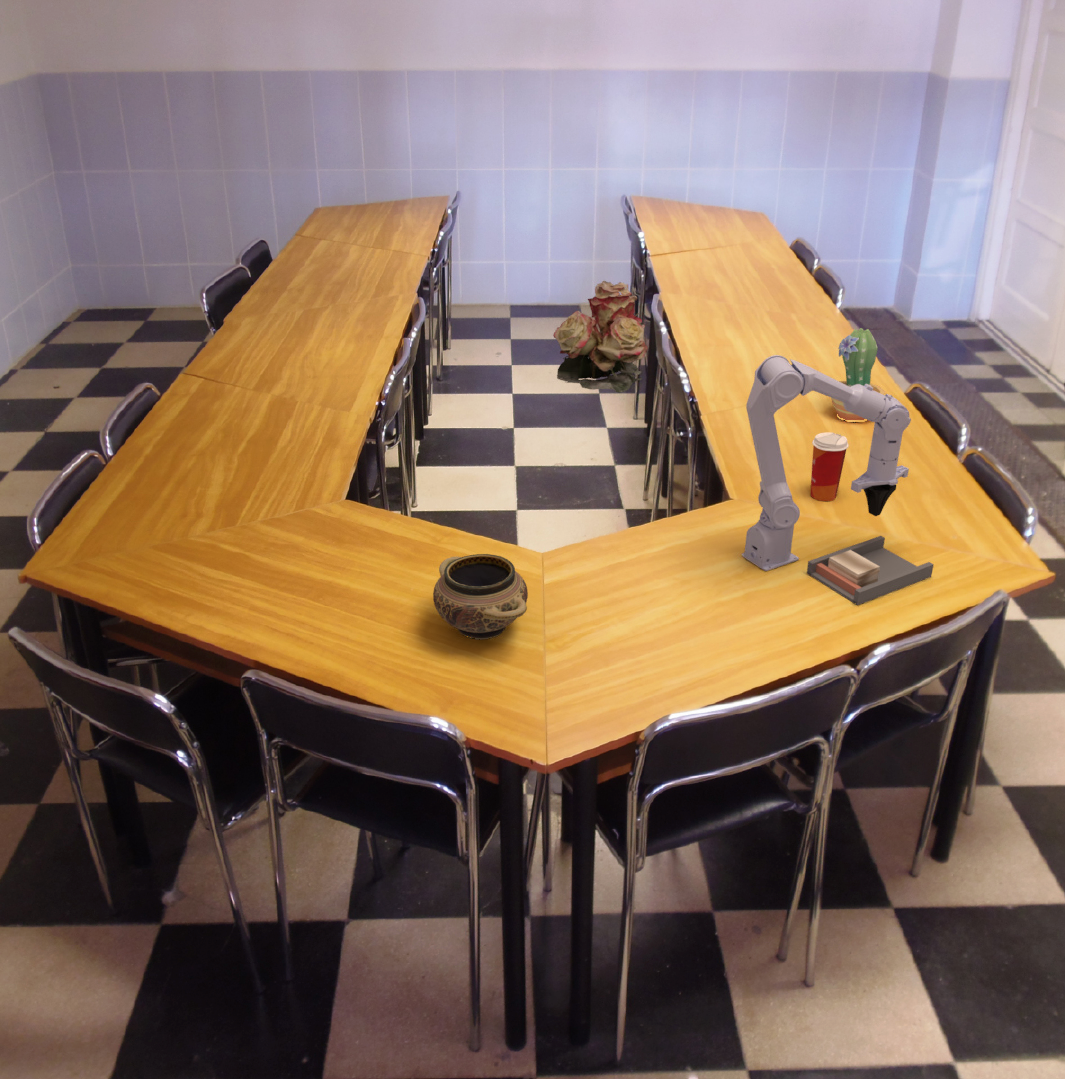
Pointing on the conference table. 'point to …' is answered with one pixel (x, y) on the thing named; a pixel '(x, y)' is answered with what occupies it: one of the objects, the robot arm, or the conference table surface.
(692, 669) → the conference table surface
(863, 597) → the bay
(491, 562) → the ceramic bowl
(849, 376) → the potted cactus
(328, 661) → the conference table surface
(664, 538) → the conference table surface
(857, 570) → the tan layered slab
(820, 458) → the coffee cup
